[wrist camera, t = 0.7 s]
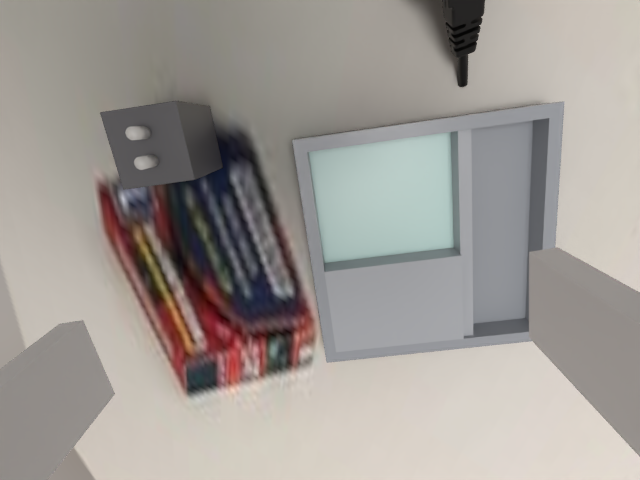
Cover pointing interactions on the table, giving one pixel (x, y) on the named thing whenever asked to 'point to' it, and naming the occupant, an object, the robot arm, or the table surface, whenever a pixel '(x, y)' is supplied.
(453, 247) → the walled box
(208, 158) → the connector
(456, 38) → the power plug
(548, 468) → the table surface
